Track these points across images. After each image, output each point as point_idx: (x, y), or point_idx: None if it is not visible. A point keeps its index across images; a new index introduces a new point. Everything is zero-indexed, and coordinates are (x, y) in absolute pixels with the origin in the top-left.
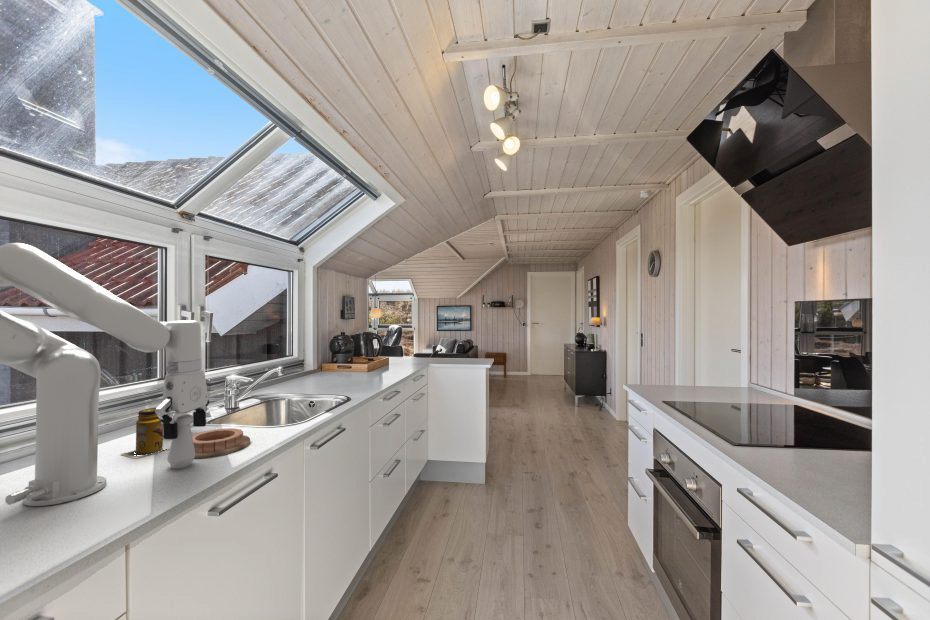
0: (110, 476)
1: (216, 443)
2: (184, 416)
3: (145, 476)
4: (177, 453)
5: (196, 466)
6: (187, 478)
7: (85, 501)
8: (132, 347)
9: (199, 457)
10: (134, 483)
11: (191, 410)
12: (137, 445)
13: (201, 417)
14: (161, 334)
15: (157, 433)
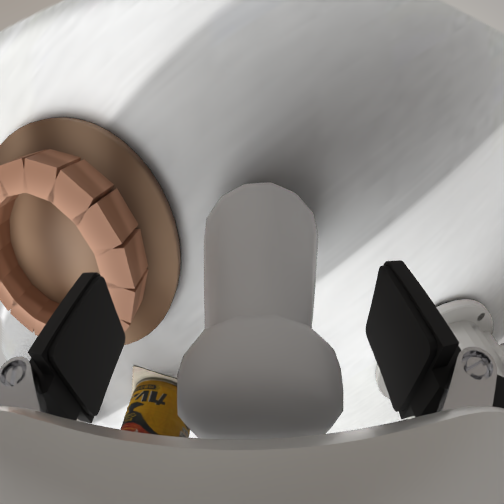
0: (351, 356)
1: (92, 191)
2: (282, 414)
3: (363, 269)
4: (314, 235)
5: (259, 150)
6: (385, 96)
7: (489, 278)
8: None
9: (170, 212)
10: (415, 256)
11: (312, 439)
12: None
13: (77, 337)
14: None
15: (150, 426)
